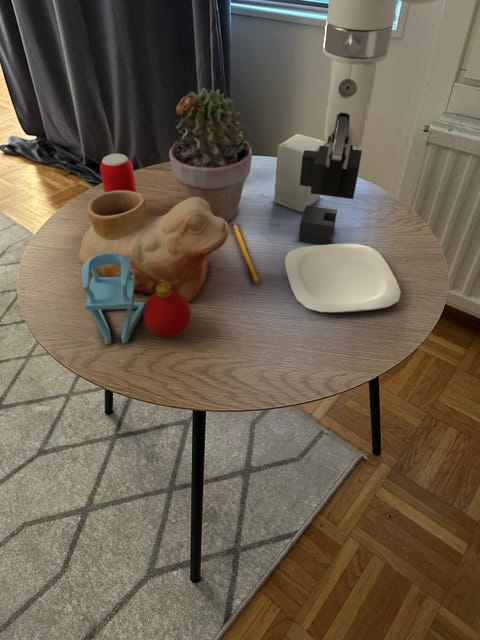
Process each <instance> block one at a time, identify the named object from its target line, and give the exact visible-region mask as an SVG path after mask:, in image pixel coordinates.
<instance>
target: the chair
mask: <svg viewBox="0 0 480 640" xmlns="http://www.w3.org/2000/svg"><path fill="white" fill-rule="evenodd" d="M106 264H117V265H121V276H120V277H99V275H98V273H97V271H96V269H95V267H97V266H100V265H106ZM130 266H131V259H130V258H128V257H126V256H124V255H120V254H116V253H102V254H99V255H96V256H94V257H92V258H90V259H89V260H88V261H87V262H86V263H84V264H83V266H82V265H81V268H80V269H81V271H80V272H81V278H82V287H83V289H84V291H85V293H86V294H87V298H86V302H85V308H86V311H89V312H90V314H91V315H92V317H93V319H94V321H95V323H96V324H97V327H98V329H99V330H100V332H101V334H102V336H103V340H104V343H105V345H110V344H111V343H112V336H111V331H110V328H109V325H108V323H107V321H106V318H105V315H104V313H103V311H115V310H116V311H117V310H126V312H125V317H124V320H123V321H124V322H123V325H122V329H121V335H120V338H121V342H122V344H127V343H128V342H129V340H130V337H131V336H132V334H133V332H134V330H135V327H136V326H137V325H138V323H139V321H140V320H141V317H143V309H144V305H145V303H146V302H144V301H140V302H137V301H136V302H134V296H135V293H134V287H135V275H131V276H130V274H129V271H130ZM90 269H91V272H92V274H93V277H92V276H91V278H90V274H89V273H90ZM134 309H135V310H136V311H135V312H134V314H133V310H134ZM132 314H133V315H132Z"/></svg>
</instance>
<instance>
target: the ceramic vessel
mask: <svg viewBox="0 0 480 640" xmlns="http://www.w3.org/2000/svg"><path fill="white" fill-rule="evenodd" d="M86 210H87V214H88V217H89V219H90V222H91V225H90V227H88V228H87V230H86V231H85V233H84V234H83V237H82V240H81V243H80V248H79V252H78V260H79V263H80V264H81V267H82V266H83V264H84V263H86V262H87V261H88V260H89V259H90V258H92V257H94V256H96V255H99V254H102V253H116V254H120V255H124V256H126V257H128V258H130V259H131V266H130V271H129V274H130V276H131V275H135V287H134V294H141V295H145V296H146V295H150V296H152V295H153V294H154V293H156V292H157V290H156V287H157V286H158V281H159V280H163V281H165V282H166V283H167V284H169V285H170V287H171V288H170V290H171V291H175V292H177V293H179V294H181V295H182V296H183V297H184V298H185V299H186V300H187V302H188V303H190V302H191V301H192V300H193V299H194V298H195V297H196V296H197V294H198V293H199V292H200V290H201V289H202V288H203V285H204V282H205V280H206V276H207V272H208V266H209V265H208V262H207V261H208V260H206V257H207V256H210V254H212V253H213V252H215V251H217V250H218V249H219V248H221V247H222V246H224V244H225V242H226V241H227V239H228V238H229V234H230V226H229V223H228V222H226V221H225V220H224V219H223V218H220V217H216V216H214V215H213V214H212V212H211V209H210V205H209V204H208V203H207V201H205V200H204V199H202V198H199V197H192V198H189V199H186V200H185V199H184V200H182V201H181V202H179V203H177V204H176V205H175V206H173V207H172V208H171V209H170V210H169V211H168V212H167V213H166V214H164V215H158V216H156V215H155V216H154V215H150V214H149V212H148V208H147V203H146V199H145V197H144V196H143V195H142V194H141V193H138V192H137V193H136V192H132V191H124V190H117V191H111V192H106V193H105V192H102V193H99V194H97V195H96V196H94V197H93V198H92V199H90V201H89V202H88V203H87V208H86ZM95 269H96V271H97V273H98V275H99V277H120V276H121V265H117V264H106V265H100V266H97V267H95ZM89 276H91V278H92V277H93V274H92V272H91V269H90V273H89ZM161 283H163V282H162V281H159V284H161Z"/></svg>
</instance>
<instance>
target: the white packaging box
mask: <svg viewBox="0 0 480 640" xmlns="http://www.w3.org/2000/svg"><path fill="white" fill-rule="evenodd" d="M320 146H328V144H326V143H325V141H324V140H321V139H318V138H315V137H314V138H313V137H310V136H307V135H304V134H300V133H296V134H294V135H293V136H291V137H290V138H288V139H286V140H284V141H283V142H282V143H280V144H278V145H277V155H276V167H275V169H276V170H275V184H274V196H273V197H274V198H273V202H274V203H276V204H278V205H282V206H283V207H286V208H288V209H292V210H295V211H296V212H299V213H304V210H305V207H306V206H313V204H314V203H315V202H317V201H318V200H320V199H321V195H317V194H311V187H309V186H301V185H300V176H301V165H302V156H303V153H304V150H309V151H317V152H318V150H319V147H320Z"/></svg>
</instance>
